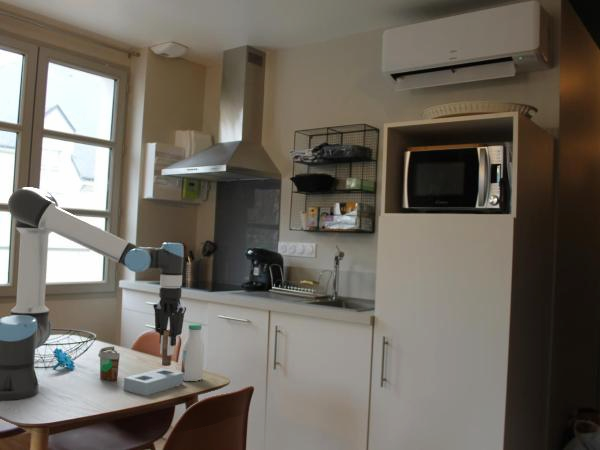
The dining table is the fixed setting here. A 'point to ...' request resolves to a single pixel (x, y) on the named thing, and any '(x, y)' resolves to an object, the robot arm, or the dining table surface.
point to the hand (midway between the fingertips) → (167, 353)
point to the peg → (165, 358)
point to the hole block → (153, 381)
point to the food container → (109, 364)
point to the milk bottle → (193, 354)
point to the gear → (63, 359)
